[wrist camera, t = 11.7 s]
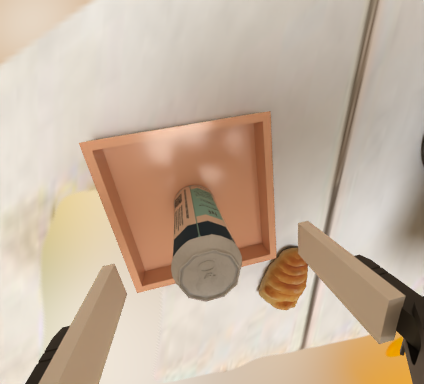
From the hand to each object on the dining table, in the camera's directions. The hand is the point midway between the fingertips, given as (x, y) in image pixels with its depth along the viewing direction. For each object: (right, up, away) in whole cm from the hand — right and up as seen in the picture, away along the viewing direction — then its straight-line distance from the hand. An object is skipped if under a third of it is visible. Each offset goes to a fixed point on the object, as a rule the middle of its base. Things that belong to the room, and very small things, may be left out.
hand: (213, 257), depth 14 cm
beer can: (-2, +4, +10) cm, 10 cm away
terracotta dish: (-2, +4, +10) cm, 11 cm away
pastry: (+11, -8, +17) cm, 22 cm away
